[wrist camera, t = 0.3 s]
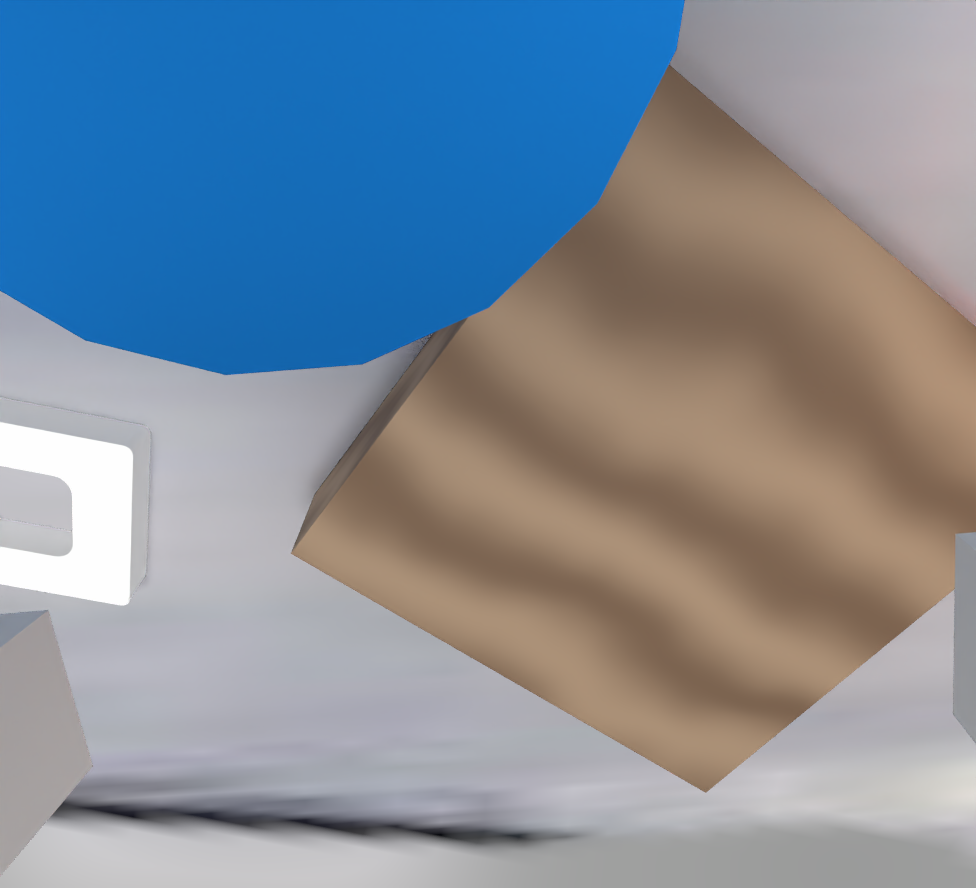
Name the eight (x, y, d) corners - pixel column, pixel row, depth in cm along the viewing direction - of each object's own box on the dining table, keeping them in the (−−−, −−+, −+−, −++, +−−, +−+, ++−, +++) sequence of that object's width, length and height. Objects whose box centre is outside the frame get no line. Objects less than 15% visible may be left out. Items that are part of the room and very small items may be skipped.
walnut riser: (640, 52, 32) (662, 59, 27) (1049, 400, 38) (1121, 451, 33) (314, 494, 41) (290, 553, 36) (686, 718, 47) (705, 792, 43)
